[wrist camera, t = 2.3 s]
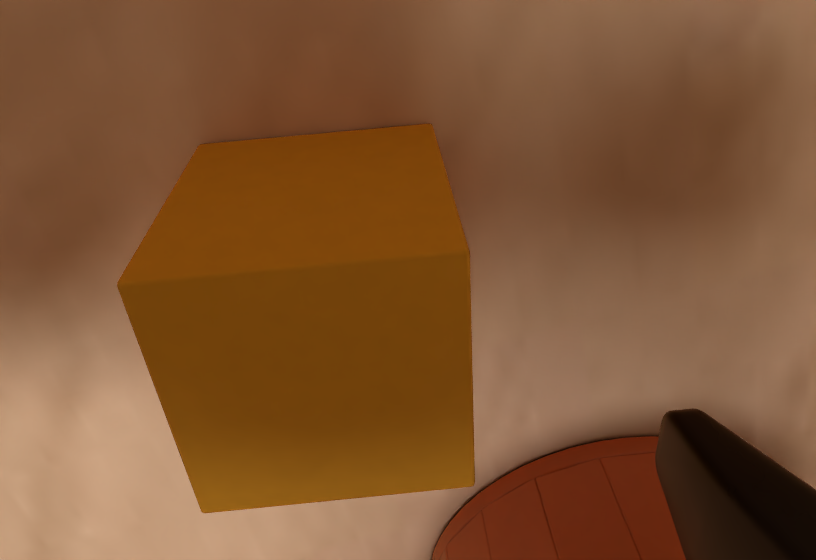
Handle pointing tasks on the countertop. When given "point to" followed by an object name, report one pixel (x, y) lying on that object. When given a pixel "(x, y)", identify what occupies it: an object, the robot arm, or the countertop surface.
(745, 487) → the robot arm
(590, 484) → the crock
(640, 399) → the countertop surface
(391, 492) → the block
